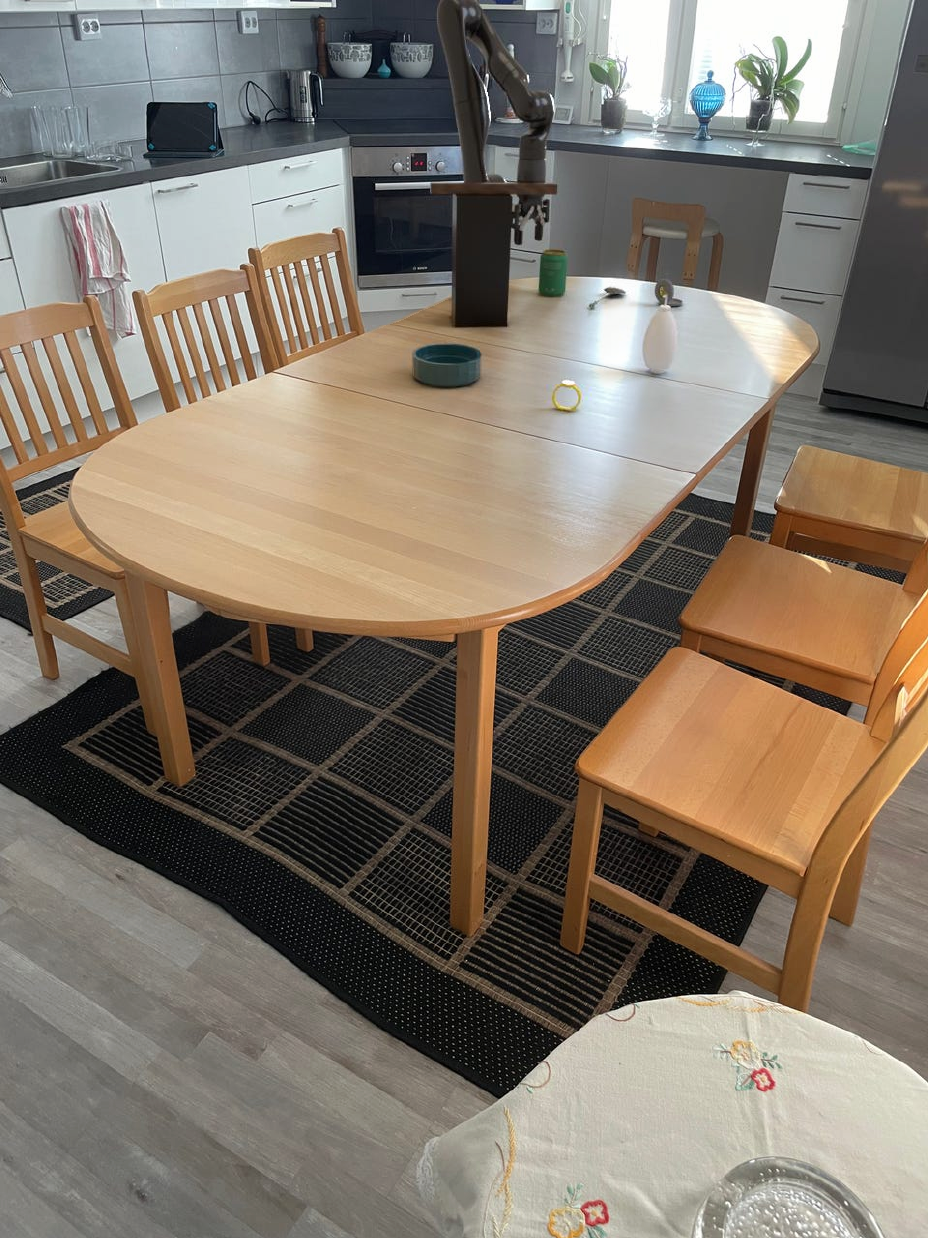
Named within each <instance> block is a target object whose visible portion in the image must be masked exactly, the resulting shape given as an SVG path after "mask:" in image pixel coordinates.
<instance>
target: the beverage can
mask: <svg viewBox="0 0 928 1238" xmlns="http://www.w3.org/2000/svg"><path fill="white" fill-rule="evenodd" d="M539 258H540V259H539V275H538V292H539V295H541V296H542V297H549V298H559V297H563V296H564V294H565V293H566V286H567V275H568V274H567V272H568V262H569V261H568V260H569V256H568V254H567V251H566V250H563V249H555V248H554V249H553V248H552V249H550V248H549V249H543V251H542V253H541V255H540V257H539Z"/></svg>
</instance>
